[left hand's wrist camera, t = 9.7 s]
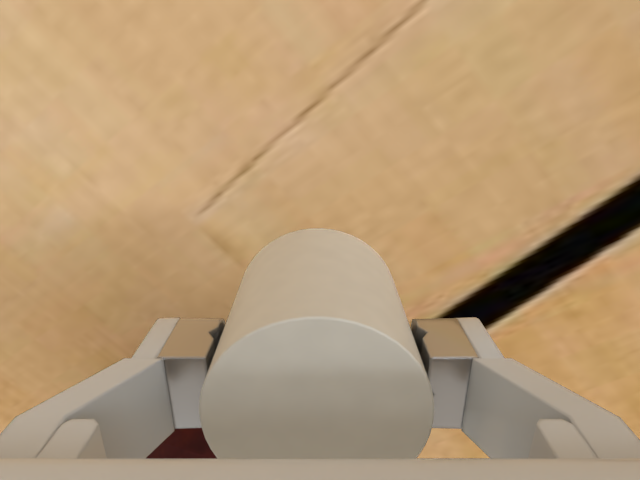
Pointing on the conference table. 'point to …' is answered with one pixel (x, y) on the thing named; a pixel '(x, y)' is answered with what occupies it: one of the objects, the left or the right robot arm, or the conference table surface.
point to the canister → (317, 359)
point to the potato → (184, 446)
